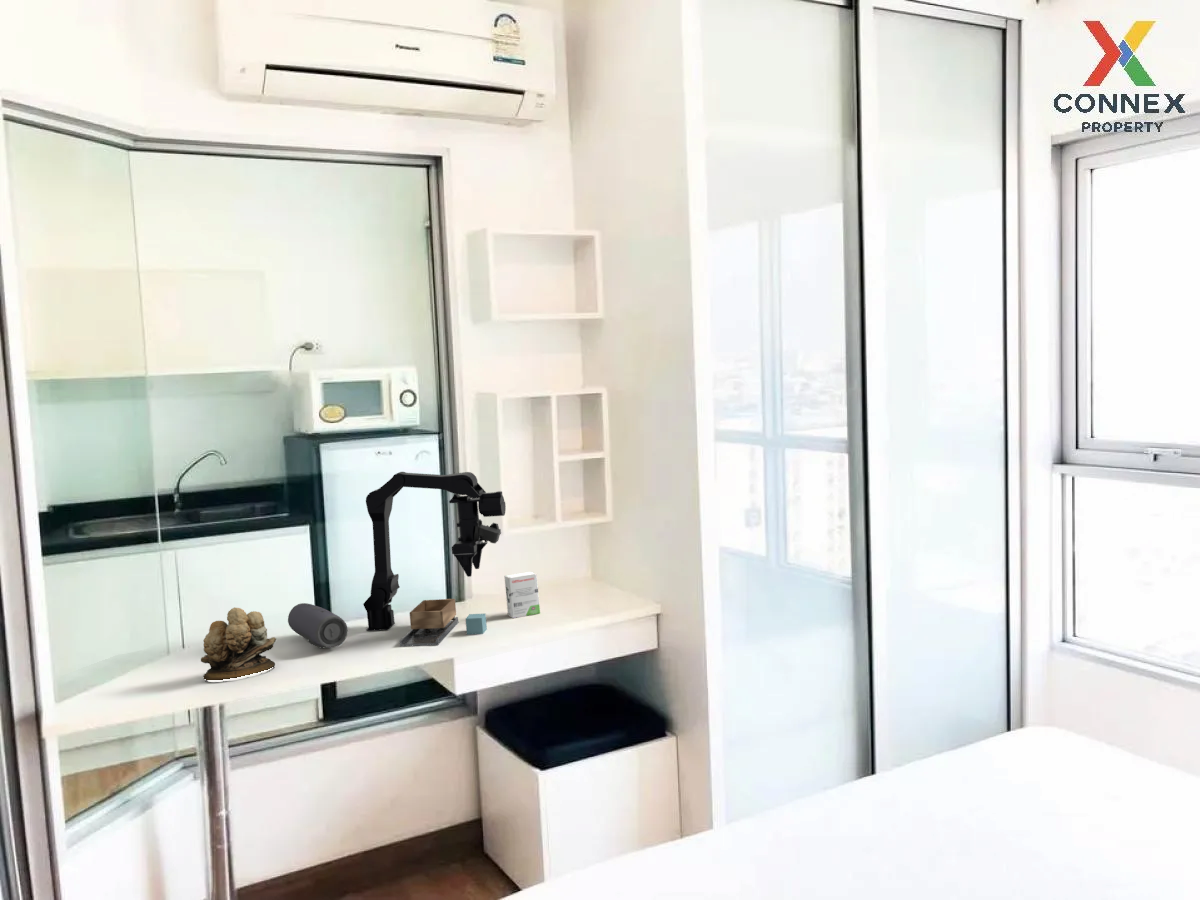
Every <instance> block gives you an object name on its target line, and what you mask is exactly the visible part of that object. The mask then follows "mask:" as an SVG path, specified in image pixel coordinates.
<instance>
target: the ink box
mask: <svg viewBox="0 0 1200 900" xmlns="http://www.w3.org/2000/svg"><path fill="white" fill-rule="evenodd" d="M504 585H505V586H504V587H505V597H506V598H505V599H506V606H507V607H506V609H507V615H508V616H509V617H510V618H512V619H517V618H521V617H522V616H523V617H527V616H534V615H538V614H541V610H540V609H541V606H540V596H539V594H540V593H539V587H538V585H539V584H538V573H535V572H534V571H525V572H520V573H513V574H508V575H504ZM516 617H517V618H516Z"/></svg>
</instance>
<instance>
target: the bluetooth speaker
mask: <svg viewBox="0 0 1200 900" xmlns="http://www.w3.org/2000/svg"><path fill="white" fill-rule="evenodd" d="M287 617H288V618H287V623H288V626H289V627H290V629H291V630H292V631H294V633H296V634H297V635H299V636H300V637H302V638H303V639H304V640H307V641H308V643H309V644H311V645H312V644H313V645H312V646H314V645H315V646H314V647H316V646H317V648H319V647H321V648H320V649H324V648H323V647H325V648H336V647H338V646H341V645H342V644H343V643H344V642H345V640H346V639H347V636H348V632H349V631H348V630H349V629H348V624H347V623H346V622H345V620H344V619H343V618H342V617H340V616H339V615H337V614H336V613H334V612H332V611H330V610H328V609H326V608H323V607H320V606H318V605H315V604H312V603H304V602H303V603H301V602H300V603H298V604H296V605H294V606H293V607H292V608H291V610H290V611H289V613H288V616H287Z"/></svg>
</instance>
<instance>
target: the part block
mask: <svg viewBox="0 0 1200 900" xmlns="http://www.w3.org/2000/svg"><path fill="white" fill-rule="evenodd" d="M486 616H487V615H486V613H469V614H468V616H466V618H465V629H466V635H483V634H484V633H485V632H486V631H487V630H488V628H487V627H488V626H487V617H486Z"/></svg>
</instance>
